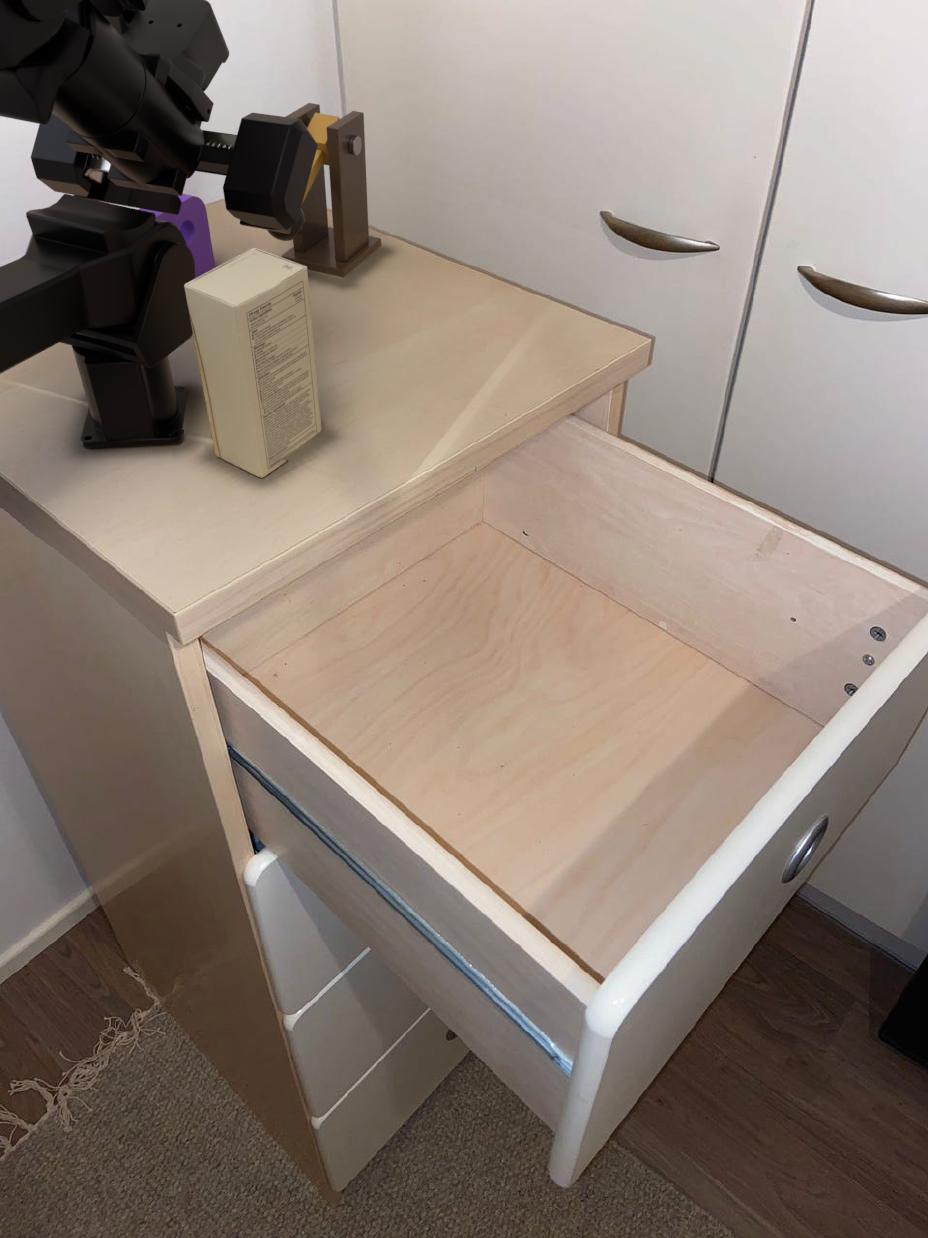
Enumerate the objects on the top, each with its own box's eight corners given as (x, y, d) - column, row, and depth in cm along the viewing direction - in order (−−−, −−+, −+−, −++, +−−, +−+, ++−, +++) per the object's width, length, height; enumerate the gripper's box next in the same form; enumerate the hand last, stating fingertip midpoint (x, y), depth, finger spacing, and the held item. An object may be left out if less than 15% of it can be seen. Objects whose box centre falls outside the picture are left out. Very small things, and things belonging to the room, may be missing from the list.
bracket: (216, 272, 83) (203, 190, 78) (165, 306, 79) (148, 221, 74) (103, 242, 87) (84, 162, 82) (49, 273, 82) (25, 190, 77)
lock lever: (300, 253, 77) (286, 224, 74) (265, 245, 78) (250, 216, 75) (354, 144, 80) (343, 113, 77) (319, 138, 81) (307, 106, 78)
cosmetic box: (276, 415, 68) (255, 244, 59) (325, 437, 66) (311, 264, 58) (211, 458, 64) (178, 281, 56) (262, 482, 62) (236, 304, 54)
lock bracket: (344, 283, 82) (335, 135, 74) (282, 269, 84) (266, 122, 76) (381, 251, 87) (376, 108, 79) (322, 238, 89) (311, 96, 80)
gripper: (284, -36, 53) (380, 124, 68) (4, -61, 58) (152, 94, 73) (231, 163, 53) (338, 279, 68) (-45, 121, 58) (113, 238, 73)
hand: (233, 217), depth 70 cm, fingers open, 9 cm apart
